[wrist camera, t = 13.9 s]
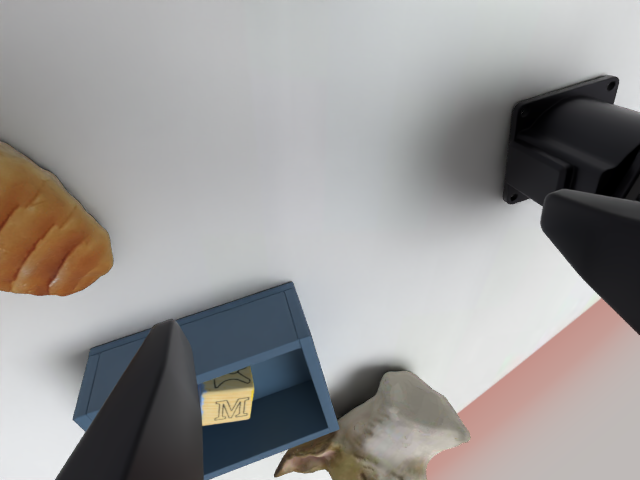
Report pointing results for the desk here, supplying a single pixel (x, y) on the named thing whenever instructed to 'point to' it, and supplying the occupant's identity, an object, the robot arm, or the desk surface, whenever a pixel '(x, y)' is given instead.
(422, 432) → the ceramic sculpture
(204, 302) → the desk surface
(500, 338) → the desk surface
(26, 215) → the pastry
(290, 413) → the blue open box
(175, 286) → the desk surface
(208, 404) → the alphabet block
